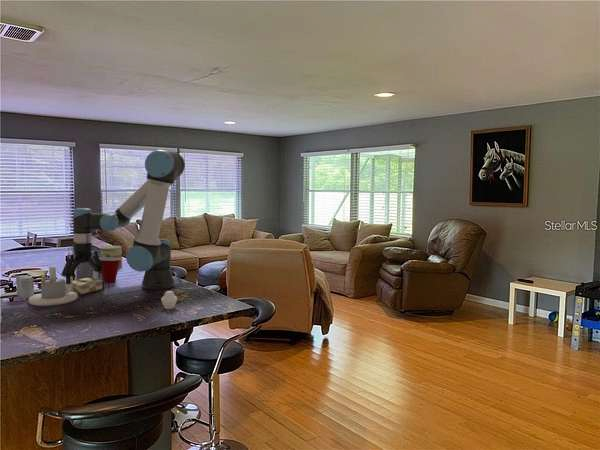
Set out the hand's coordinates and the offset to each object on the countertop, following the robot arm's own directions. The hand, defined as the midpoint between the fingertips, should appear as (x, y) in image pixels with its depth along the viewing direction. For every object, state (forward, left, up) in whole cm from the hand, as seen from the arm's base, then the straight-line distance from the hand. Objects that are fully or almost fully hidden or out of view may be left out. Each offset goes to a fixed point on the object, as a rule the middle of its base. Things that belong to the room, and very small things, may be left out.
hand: (83, 288), depth 205 cm
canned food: (+32, -44, -1) cm, 54 cm away
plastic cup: (+4, -18, -1) cm, 19 cm away
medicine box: (+11, +20, -1) cm, 23 cm away
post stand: (-4, +18, -1) cm, 18 cm away
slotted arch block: (0, 0, -1) cm, 1 cm away
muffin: (-54, +4, -1) cm, 54 cm away
